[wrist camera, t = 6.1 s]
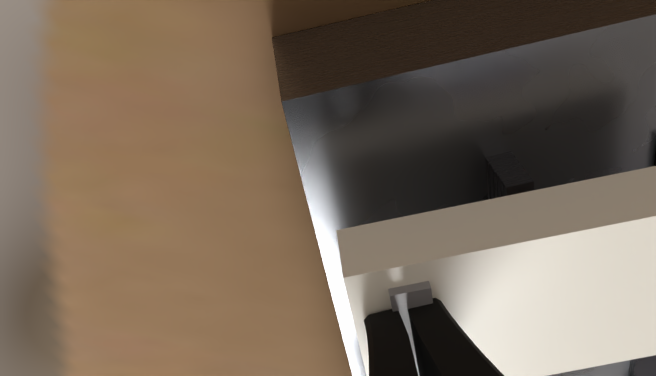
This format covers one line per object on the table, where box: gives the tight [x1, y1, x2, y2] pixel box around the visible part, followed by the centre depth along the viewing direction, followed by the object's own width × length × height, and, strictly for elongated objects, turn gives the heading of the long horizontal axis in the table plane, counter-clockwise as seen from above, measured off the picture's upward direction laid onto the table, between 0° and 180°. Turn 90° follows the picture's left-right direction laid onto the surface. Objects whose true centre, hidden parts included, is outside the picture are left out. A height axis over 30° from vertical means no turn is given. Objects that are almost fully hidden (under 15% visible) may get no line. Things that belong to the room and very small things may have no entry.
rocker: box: [336, 166, 656, 376], centre depth 13 cm, size 8×4×2 cm, turn 101°
